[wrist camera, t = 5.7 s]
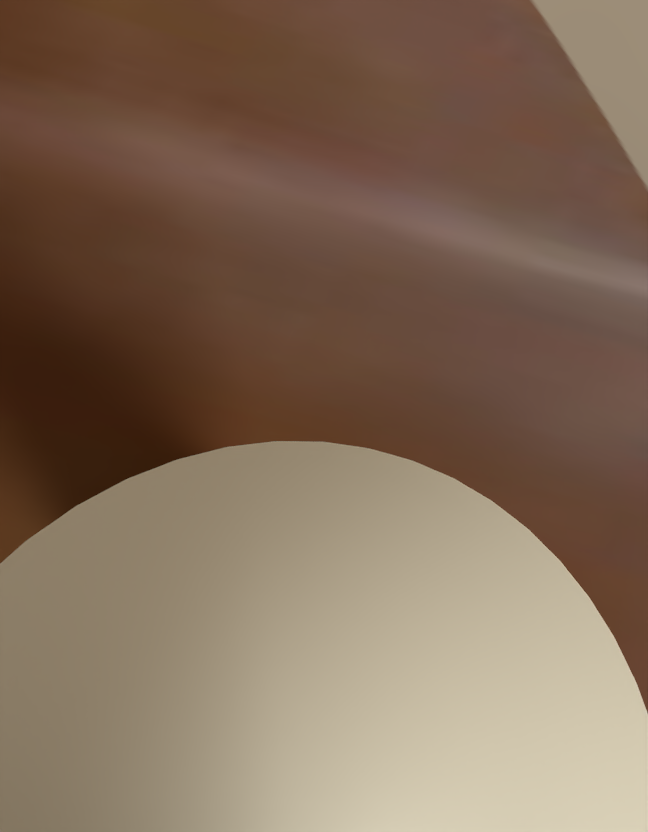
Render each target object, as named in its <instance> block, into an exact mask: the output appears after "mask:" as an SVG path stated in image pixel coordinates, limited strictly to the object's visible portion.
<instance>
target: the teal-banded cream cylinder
mask: <svg viewBox="0 0 648 832" xmlns="http://www.w3.org/2000/svg"><path fill="white" fill-rule="evenodd" d="M0 832H648V714H647V711H646V708H645V705H644V703H643V700H642V697H641V694H640V692H639V689H638V686H637V683H636V681H635V679H634V677H633V675H632V673H631V671H630V669H629V667H628V665H627V662H626V660H625V658H624V656H623V654H622V652H621V650H620V648H619V646H618V644H617V642H616V640H615V638H614V636H613V635H612V633H611V631H610V630H609V628H608V627H607V625H606V623H605V622H604V620H603V619H602V617H601V615H600V614H599V612H598V611H597V609H596V607H595V606H594V604H593V603H592V601H591V599H590V598H589V597H588V595H587V594H586V593H585V591H584V590H583V589H582V588H581V586H580V585H579V584H578V583H577V581H576V580H575V579H574V578H573V576H572V575H571V574H570V573H569V571H568V570H567V569H566V568H565V566H564V565H563V564H562V563H561V561H560V560H559V559H558V558H557V557H556V556H555V555H554V554H553V553H552V552H551V551H550V550H549V549H548V548H547V547H546V546H545V545H544V544H543V543H542V542H541V541H540V540H539V539H538V538H537V537H536V536H535V535H534V534H533V533H532V532H531V531H530V530H529V529H527V528H526V527H525V526H524V525H522V524H521V523H520V522H518V521H517V520H516V519H515V518H513V517H512V516H511V515H509V514H508V513H507V512H506V511H504V510H503V509H502V508H500V507H499V506H498V505H497V504H495V503H494V502H493V501H491V500H489V499H488V498H486V497H484V496H483V495H481V494H479V493H478V492H476V491H474V490H473V489H471V488H469V487H467V486H466V485H464V484H462V483H461V482H459V481H457V480H456V479H454V478H452V477H449V476H447V475H445V474H442V473H440V472H438V471H435V470H433V469H431V468H428V467H426V466H424V465H421V464H419V463H417V462H414V461H412V460H408V459H405V458H401V457H398V456H394V455H391V454H387V453H384V452H380V451H377V450H373V449H369V448H363V447H356V446H349V445H342V444H335V443H328V442H298V441H274V442H265V443H257V444H248V445H240V446H231V447H225V448H221V449H217V450H213V451H209V452H205V453H201V454H197V455H193V456H189V457H185V458H181V459H177V460H175V461H172V462H169V463H167V464H164V465H162V466H159V467H156V468H154V469H151V470H149V471H146V472H144V473H141V474H138V475H136V476H133V477H131V478H128V479H126V480H124V481H122V482H120V483H118V484H116V485H114V486H113V487H111V488H109V489H107V490H105V491H103V492H101V493H99V494H98V495H96V496H94V497H92V498H90V499H88V500H86V501H85V502H83V503H81V504H79V505H77V506H75V507H74V508H72V509H71V510H70V511H68V512H67V513H65V514H64V515H62V516H61V517H60V518H58V519H57V520H55V521H54V522H52V523H51V524H50V525H48V526H47V527H45V528H44V529H42V530H41V531H39V532H38V533H37V534H35V535H34V536H32V537H31V538H29V539H28V540H27V541H25V542H24V543H23V544H22V545H21V546H20V547H19V548H17V549H16V550H15V551H14V552H13V553H12V554H11V555H10V556H8V557H7V558H6V559H5V560H4V561H3V562H2V563H0Z"/></svg>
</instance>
